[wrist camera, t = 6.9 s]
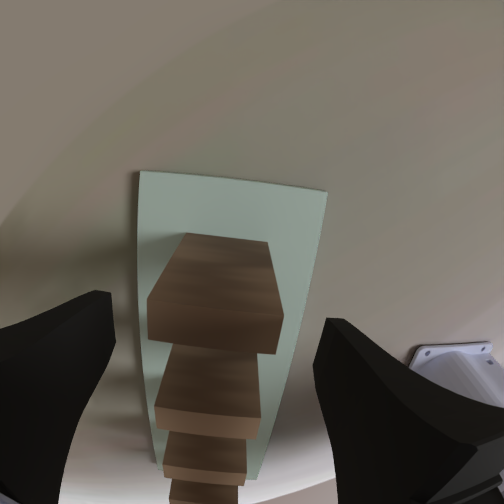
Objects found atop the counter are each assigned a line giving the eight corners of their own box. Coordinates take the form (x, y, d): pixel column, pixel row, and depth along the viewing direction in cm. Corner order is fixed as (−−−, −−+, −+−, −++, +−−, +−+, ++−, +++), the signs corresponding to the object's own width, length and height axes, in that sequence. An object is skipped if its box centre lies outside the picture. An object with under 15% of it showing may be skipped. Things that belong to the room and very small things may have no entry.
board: (325, 190, 17) (327, 192, 16) (256, 475, 26) (256, 479, 25) (143, 170, 16) (140, 171, 15) (159, 465, 25) (158, 469, 25)
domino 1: (267, 241, 17) (284, 315, 10) (263, 269, 17) (275, 354, 10) (186, 232, 17) (146, 299, 9) (184, 259, 17) (148, 339, 10)
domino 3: (245, 381, 20) (246, 473, 13) (242, 396, 21) (243, 485, 14) (181, 374, 20) (162, 464, 13) (181, 390, 21) (164, 477, 13)
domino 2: (255, 322, 19) (261, 418, 11) (251, 343, 19) (255, 439, 12) (182, 313, 18) (153, 406, 11) (182, 335, 19) (156, 428, 12)
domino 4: (238, 424, 22) (237, 506, 15) (236, 435, 22) (235, 513, 15) (182, 418, 22) (168, 498, 14) (183, 430, 22) (170, 507, 15)
